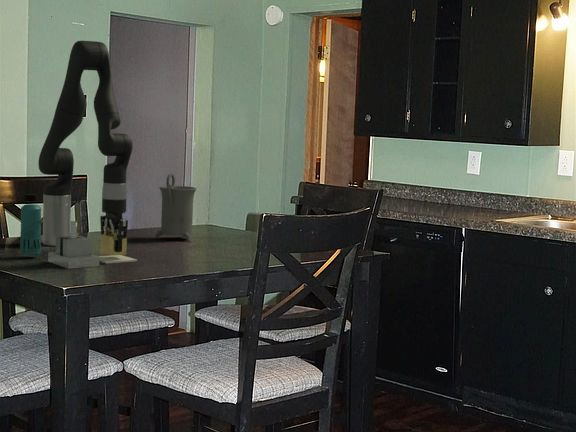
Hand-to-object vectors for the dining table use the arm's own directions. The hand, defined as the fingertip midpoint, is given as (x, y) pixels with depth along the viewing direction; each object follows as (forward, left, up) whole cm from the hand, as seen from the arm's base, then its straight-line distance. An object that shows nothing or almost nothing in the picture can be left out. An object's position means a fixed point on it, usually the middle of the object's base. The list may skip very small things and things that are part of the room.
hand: (113, 250), depth 291 cm
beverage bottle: (-15, -21, -3) cm, 26 cm away
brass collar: (0, 0, -1) cm, 1 cm away
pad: (0, 0, -3) cm, 3 cm away
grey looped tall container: (-33, +44, -3) cm, 55 cm away
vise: (+2, -14, -3) cm, 15 cm away
